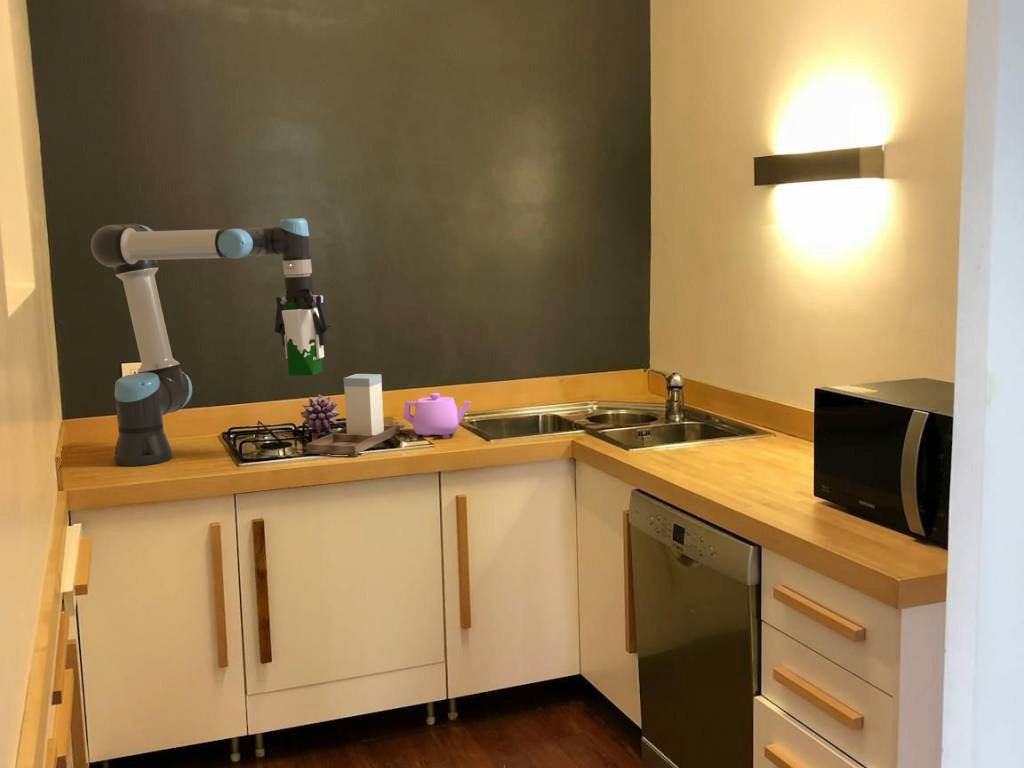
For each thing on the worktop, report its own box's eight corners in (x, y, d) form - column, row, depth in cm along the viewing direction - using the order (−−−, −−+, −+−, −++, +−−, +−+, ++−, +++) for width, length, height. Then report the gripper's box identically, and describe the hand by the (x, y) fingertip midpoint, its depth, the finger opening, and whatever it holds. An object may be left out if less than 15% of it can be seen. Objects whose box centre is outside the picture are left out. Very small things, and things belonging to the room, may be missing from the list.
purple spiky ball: (293, 436, 318) (291, 397, 316) (314, 428, 329) (312, 390, 327) (327, 438, 314) (325, 398, 312) (347, 430, 325) (345, 392, 323)
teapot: (401, 441, 307) (399, 397, 305) (406, 432, 319) (404, 390, 317) (470, 439, 306) (468, 396, 304) (473, 430, 318) (471, 389, 316)
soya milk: (297, 371, 298) (291, 300, 295) (327, 371, 296) (321, 299, 293) (284, 376, 290) (277, 303, 287) (315, 375, 288) (309, 302, 285)
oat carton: (347, 439, 307) (343, 378, 305) (359, 433, 315) (356, 373, 312) (372, 440, 305) (369, 378, 302) (384, 434, 312) (381, 374, 310)
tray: (306, 454, 292) (306, 444, 292) (354, 433, 319) (354, 423, 319) (355, 457, 287) (355, 446, 287) (400, 435, 315) (399, 425, 314)
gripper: (256, 278, 289) (263, 360, 292) (326, 275, 282) (333, 359, 285) (271, 276, 296) (278, 356, 299) (340, 273, 289) (346, 355, 292)
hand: (305, 357), depth 292 cm, fingers closed on soya milk, 9 cm apart
